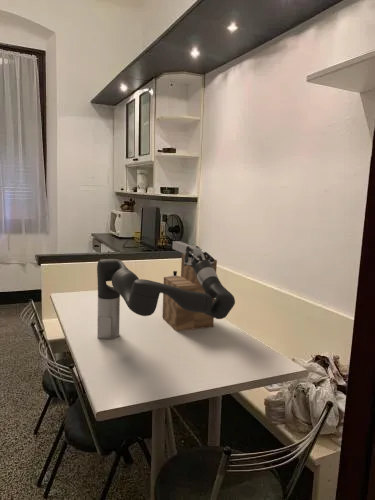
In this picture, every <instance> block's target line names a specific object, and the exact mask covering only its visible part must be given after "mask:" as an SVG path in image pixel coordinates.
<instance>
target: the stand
mask: <svg viewBox="0 0 375 500" xmlns="http://www.w3.org/2000/svg"><path fill="white" fill-rule="evenodd" d="M184 257H185V254H184V253H181V265H180V266H181V267H180V275H177V276H173V275H172V276H173V277H168V276H163V284H166V285H170V286H173V287H177V288H180V289H184V290H188V291H193V292H201V293H205V291H204V289H203V287H202V286H201V284H200V283H199V281H198V279H197V277H196V275H195V273H194V270H193V268H192V267H191V265H187V266H184ZM206 257H207V256H206ZM188 259H189V258H188ZM189 261H190V259H189ZM190 262H191V261H190ZM217 264H218V259H215V260H214V263H213V265H212V267H213V269H214V270H215V272H216V273H217V268H218V267H217ZM214 300H215V298H212V302H213V301H214ZM161 318H163V319H162V320H163V321H165V323H167V324H168V326H170V327H171V328H172V329H173V330H174V331H175V332H179V331H181V332H182V331H187V330H188V331H189V330H197V329H198V330H199V329H207V328H213V327H214V322H215V321H214V319H215V318H213V317H211V316H209V315H207V314H204V313H200V312H191V311H187V310H185V309H183V308H182V307H180V306H179V305H178V304H177V303H176V302H175V301H174V300H173V299H172V298H171V297H169V296H168V295H166V294H163V293H162V317H161Z"/></svg>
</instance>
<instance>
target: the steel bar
mask: <svg viewBox="0 0 375 500" xmlns="http://www.w3.org/2000/svg"><path fill="white" fill-rule="evenodd" d="M187 246H189V247H190V249H191V252H192V253H193V254H195V255H196V256H197V257H200V256H201V252H203V251H202V250H203V249H202V248H200V247H199V248H197V247H196V246H194V245H192V244H189V243H187V242H186V243H185V242H184V241H180V240H178V241H176V240H175V241H172V250H175V251H177V252H180V253H181V254H185V253H186V247H187Z"/></svg>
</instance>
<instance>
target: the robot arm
mask: <svg viewBox="0 0 375 500" xmlns="http://www.w3.org/2000/svg"><path fill="white" fill-rule="evenodd" d="M195 247H197V248H200V247H199V246H198V245H196V246H195ZM206 256H207V257H206ZM188 258H189V259H190V261H191V262H190V261H189V259H188ZM214 260H216V259H215V258H214V257H213V256H212V255H210V253H208V252H206V251H202V252H201V256H200V257H197V256H196V255H195V254H193V253H192V252H191V249H190V247H189V246H187V247H186V253H185V257H184V266H187V265H191V267H192V268H193V270H194V273H195V275H196V277H197V279H198V281H199V283H200V284H201V286H202V287H203V289H204V291H205V293H201V292H193V291H188V290H184V289H180V288H177V287H173V286H170V285H166V284H164V283H161V282H158V281H154V280H150V279H144V278H143V279H142V278H141V279H140V278H139V277H138V275H137V274H136V273H134V272H133V271H131V270H130V269H129V268H128V267H127V266H126V265H125V263H124V262H123V261H122V259H117V258H108V259H107V258H106V259H105V258H104V259H99V260H97V261H98V262H97V265H96V274H97V275H96V277H97V278H96V279H97V339H104V340H112V339H116V338H117V337H119V336H120V318H121V317H120V314H121V313H120V311H121V310H120V308H121V305H120V303H121V297H122V299H123V300H124V302H125V304H126V307H128V309H129V310H130V311H131V312H132V313H134V314H136V315H138V316H142V317H149V316H151V315H153V314H155V311H156V308H157V307H158V303H159V298H160V294H162V295H163V294H166V295H168V296H169V297H171V298H172V299H173V300H174V301H175V302H176V303H177V304H178V305H179V306H180V307H182V308H183V309H185V310H187V311H191V312H200V313H204V314H207V315H209V316H211V317H213V318H214V319H216V320H222V319H225V318H226V317H227V316H228V315H229V314H230V312H231V311H232V309H233V307H234V306H235V304H236V300H235V297H234V295H233V294H232V292H230V291H229V290H228V289H227V288H226V287H225V286H223V284H222V282H221V281H220V279H219V276H218V274H217V271H216V272H215V270H214V269H213V267H212V265H213V263H214ZM107 282H111V284H112V285H111V286H110V285H108V284H107ZM212 298H215V300H214V301H213V302H212Z"/></svg>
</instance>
